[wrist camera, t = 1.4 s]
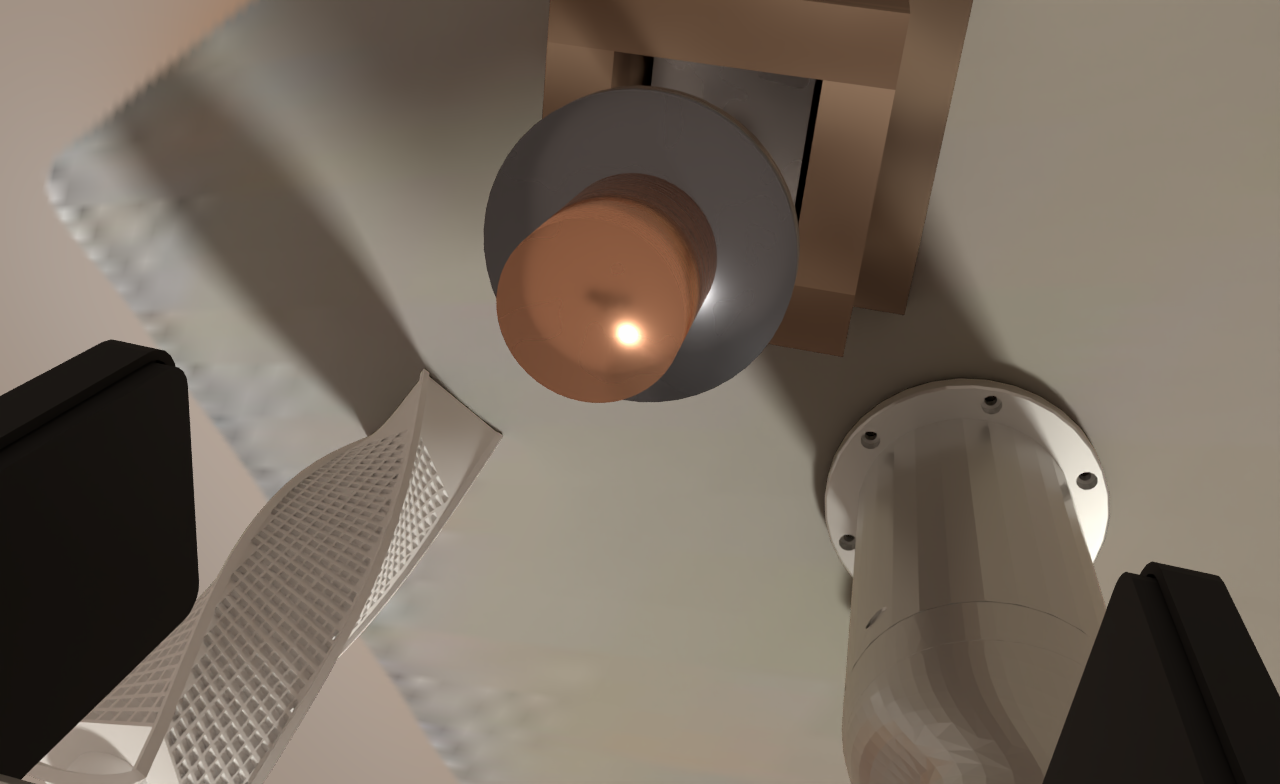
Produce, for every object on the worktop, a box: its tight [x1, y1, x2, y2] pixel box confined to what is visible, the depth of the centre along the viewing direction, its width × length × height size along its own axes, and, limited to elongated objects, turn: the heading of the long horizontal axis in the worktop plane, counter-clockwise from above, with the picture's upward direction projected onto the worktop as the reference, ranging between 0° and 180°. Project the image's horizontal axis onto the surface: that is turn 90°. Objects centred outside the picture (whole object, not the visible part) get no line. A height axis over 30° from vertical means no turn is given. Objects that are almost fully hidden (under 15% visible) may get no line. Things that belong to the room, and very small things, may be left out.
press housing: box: [542, 0, 973, 357], centre depth 39 cm, size 16×15×16 cm
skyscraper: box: [26, 369, 503, 784], centre depth 43 cm, size 8×7×28 cm
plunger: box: [484, 57, 817, 403], centre depth 28 cm, size 7×7×18 cm
